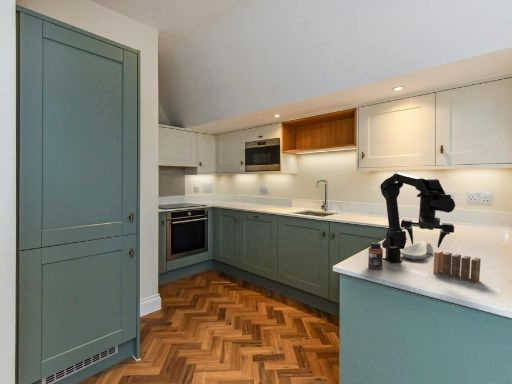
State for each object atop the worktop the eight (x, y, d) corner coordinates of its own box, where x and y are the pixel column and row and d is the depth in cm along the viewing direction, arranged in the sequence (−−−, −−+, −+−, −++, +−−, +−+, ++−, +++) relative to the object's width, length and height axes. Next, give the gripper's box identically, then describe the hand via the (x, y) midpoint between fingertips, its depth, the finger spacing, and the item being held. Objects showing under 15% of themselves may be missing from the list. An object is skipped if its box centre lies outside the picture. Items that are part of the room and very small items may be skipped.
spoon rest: (418, 263, 135) (419, 248, 135) (394, 257, 145) (395, 243, 145) (440, 256, 149) (441, 242, 149) (417, 251, 159) (417, 238, 158)
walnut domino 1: (441, 275, 119) (443, 254, 118) (446, 272, 122) (447, 252, 121) (446, 276, 118) (447, 254, 117) (450, 273, 121) (452, 253, 120)
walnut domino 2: (450, 277, 116) (452, 255, 116) (455, 274, 119) (456, 253, 119) (455, 278, 115) (456, 256, 114) (459, 276, 118) (461, 254, 117)
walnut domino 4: (470, 282, 111) (471, 259, 110) (474, 279, 114) (475, 257, 113) (475, 283, 110) (476, 260, 109) (479, 280, 113) (480, 258, 112)
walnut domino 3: (460, 279, 114) (461, 257, 113) (464, 277, 117) (465, 255, 116) (465, 280, 112) (466, 258, 112) (469, 278, 115) (470, 256, 115)
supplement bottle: (378, 265, 130) (379, 241, 130) (384, 270, 124) (385, 244, 124) (365, 265, 130) (366, 241, 129) (371, 270, 124) (372, 244, 123)
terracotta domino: (433, 272, 122) (434, 252, 121) (438, 270, 125) (439, 250, 124) (437, 273, 120) (438, 253, 120) (442, 271, 123) (443, 251, 123)
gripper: (400, 209, 114) (398, 246, 116) (456, 213, 105) (453, 254, 106) (402, 206, 124) (400, 241, 125) (454, 210, 114) (451, 247, 116)
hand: (425, 245), depth 118 cm, fingers open, 9 cm apart
